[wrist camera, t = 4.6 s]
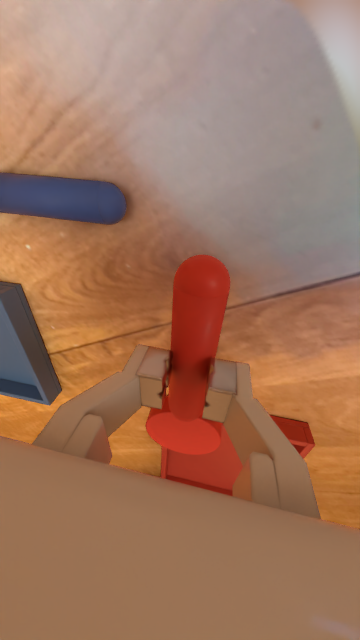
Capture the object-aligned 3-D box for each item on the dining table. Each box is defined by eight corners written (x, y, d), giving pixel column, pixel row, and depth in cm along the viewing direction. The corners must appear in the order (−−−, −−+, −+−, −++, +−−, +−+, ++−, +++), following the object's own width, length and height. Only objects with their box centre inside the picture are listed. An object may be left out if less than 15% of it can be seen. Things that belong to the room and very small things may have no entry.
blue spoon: (129, 149, 11) (110, 144, 9) (134, 247, 13) (121, 256, 12) (-98, 134, 12) (-149, 127, 11) (-52, 223, 15) (-87, 229, 13)
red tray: (308, 422, 19) (315, 445, 18) (255, 493, 30) (256, 512, 28) (168, 394, 21) (163, 412, 19) (163, 471, 31) (160, 487, 30)
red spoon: (145, 240, 8) (123, 256, 6) (275, 255, 7) (287, 277, 6) (151, 428, 16) (142, 457, 14) (215, 443, 15) (213, 475, 14)
